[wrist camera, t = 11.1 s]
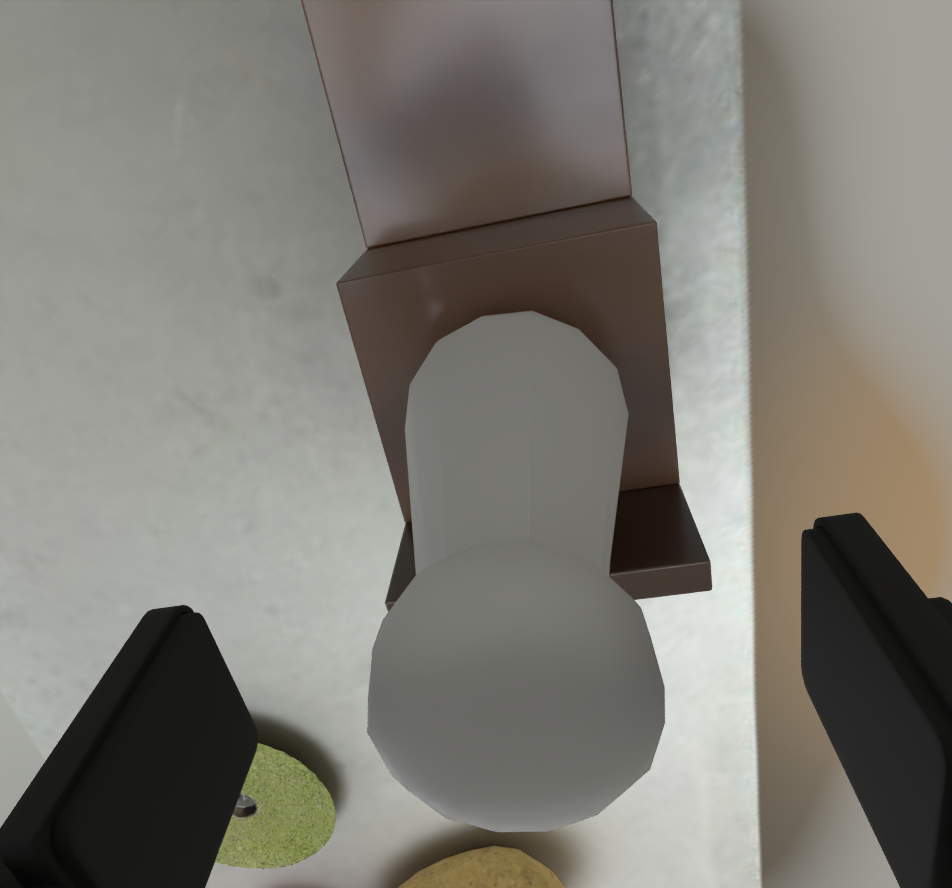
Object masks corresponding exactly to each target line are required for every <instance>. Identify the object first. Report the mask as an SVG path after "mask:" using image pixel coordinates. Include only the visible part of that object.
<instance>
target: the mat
mask: <svg viewBox="0 0 952 888" xmlns="http://www.w3.org/2000/svg"><path fill="white" fill-rule="evenodd" d="M325 788H326V787H325V786H324V785H323V783H322V782H321V781H319V779H318V778H317V776H316V775H315V774H314V773H313V772H311V771H310V770H308V769H307V767H306V766H305V765H303V764H302V763H301V762H300V761H299V760H296V759H295V758H293V757H291V756H289V755H287V754H286V753H285V752H283V751H279V750H275V749H273V748H272V747H269V746H266V745H263V744H260V743H258V745H257V750H256V753H255V756H254V759H253V761H252V764H251V767H250V769H249V772H248V775H247V777H246V780H245V783H244V785H243V788H242V791H241V793H240V796H239V799H238V801H237V804H236V807H235V809H234V812H233V815H232V817H231V820H230V823H229V825H228V828H227V831H226V833H225V836H224V839H223V841H222V844H221V847H220V849H219V852H218V855H217V857H216V860H215V862H217V863H221V864H226V865H229V866H238V867H246V868H255V867H256V868H259V867H260V868H262V869H263V868H275V867H285V866H287V865H292V864H293V863H298V862H299V861H301V860H303V858H304V859H306V858H307V857H309V856H311V855H313V854H315V853H316V852H317V851H319V850H320V849H321V847H322V846H323V845H324V846H325V844H326V842H327V841H328V840H329V838H331V835H332V833H333V830H334V827H335V819H336V818H335V817H336V813H335V807H334V804H333V801H332V798H331V796H330V795H331V794H330V793H329V792H328V790H327V789H325Z"/></svg>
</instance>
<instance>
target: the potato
mask: <svg viewBox="0 0 952 888" xmlns="http://www.w3.org/2000/svg"><path fill="white" fill-rule="evenodd" d="M398 888H565V887H564V885H563V884H562V883H561V881H560V880H559V879H558V877H557V876H556V875H555V873H553V872H552V871H551V870H549V869H548V868H547V867H546V866H544V865H543V864H542V863H540V862H539V861H537V860H535V859H534V858H532V857H530V856H529V855H527V854H526V853H524V852H522V851H521V850H519V849H515V848H507V847H500V846H491V847H485V848H480V849H474V850H469V851H466V852H463V853H460V854H457V855H454V856H451V857H448V858H445V859H443V860H441V861H439V862H437V863H435V864H433V865H430V866H428V867H426V868H424V869H422V870H420V871H419V872H417V873H416V874H415V875H414V876H412V877H411V878H410V879H408V880H407V881H406V882H405V883H403V884H402V885H401V886H400V887H398Z"/></svg>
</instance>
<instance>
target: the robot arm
mask: <svg viewBox="0 0 952 888" xmlns="http://www.w3.org/2000/svg"><path fill="white" fill-rule="evenodd" d="M801 541H802V543H801V546H802V547H801V553H802V555H801V565H802V566H801V570H802V571H801V590H802V591H801V667H802V676H803V679H804V683H805V687H806V689H807V691H808V694H809V696H810V698H811V700H812V703H813V705H814V707H815V709H816V711H817V713H818V715H819V717H820V720H821V722H822V724H823V726H824V728H825V730H826V732H827V734H828V736H829V738H830V740H831V743H832V745H833V747H834V749H835V751H836V753H837V755H838V757H839V760H840V762H841V764H842V766H843V768H844V770H845V772H846V774H847V776H848V778H849V781H850V783H851V785H852V787H853V789H854V791H855V793H856V795H857V797H858V799H859V802H860V804H861V806H862V808H863V810H864V812H865V814H866V816H867V818H868V821H869V823H870V825H871V827H872V829H873V831H874V833H875V835H876V837H877V839H878V842H879V844H880V846H881V848H882V850H883V852H884V854H885V856H886V858H887V861H888V863H889V865H890V867H891V869H892V871H893V873H894V875H895V877H896V880H897V882H898V884H899V886H900V888H952V603H951V602H950V601H949V600H947V599H944V598H942V597H938V598H929V599H928V598H927V597H926V595H925V594H924V593H923V591H922V590H921V589H920V588H919V586H918V585H917V584H916V583H915V581H914V580H913V579H912V577H911V576H910V575H909V574H908V572H906V570H905V569H904V567H903V566H902V565H901V564H900V562H899V561H898V560H897V559H896V557H895V556H894V555H893V554H892V552H891V551H890V550H889V548H888V547H887V546H886V544H885V543H884V542H883V541H882V539H881V538H880V537H879V536H878V534H877V533H876V532H875V530H874V529H873V528H872V527H871V526H870V524H869V523H868V522H867V520H866V519H865V518H864V517H863V516H862V515H861V514H860V513H850V514H843V515H836V516H829V517H822V518H817V519H816V520H815V522H814V528H813V529H808V530H804V531H803V533H802V540H801ZM257 745H258V734H257V729H256V726H255V724H254V722H253V720H252V718H251V715H250V713H249V711H248V709H247V707H246V705H245V703H244V701H243V699H242V697H241V695H240V692H239V690H238V688H237V686H236V684H235V682H234V680H233V678H232V676H231V674H230V672H229V669H228V667H227V665H226V663H225V661H224V659H223V657H222V655H221V653H220V651H219V648H218V646H217V644H216V642H215V640H214V638H213V636H212V634H211V632H210V630H209V628H208V625H207V623H206V621H205V619H204V618H203V616H202V615H201V614H200V613H194V612H193V610H192V609H191V608H190V607H188V606H185V605H181V606H173V607H166V608H159V609H152V610H150V611H148V612H147V613H146V614H145V615H144V616H143V618H142V619H141V621H140V622H139V624H138V625H137V627H136V628H135V630H134V631H133V633H132V634H131V636H130V637H129V638H128V640H127V641H126V643H125V644H124V646H123V647H122V649H121V650H120V652H119V653H118V655H117V656H116V658H115V659H114V661H113V662H112V664H111V665H110V667H109V668H108V670H107V671H106V673H105V674H104V675H103V677H102V678H101V680H100V681H99V683H98V684H97V686H96V687H95V689H94V690H93V692H92V693H91V695H90V696H89V698H88V699H87V701H86V702H85V704H84V705H83V707H82V708H81V710H80V711H79V713H78V714H77V715H76V717H75V718H74V720H73V721H72V723H71V724H70V726H69V727H68V729H67V730H66V732H65V733H64V735H63V736H62V738H61V739H60V741H59V742H58V744H57V745H56V747H55V748H54V750H53V751H52V753H51V754H50V755H49V757H48V758H47V760H46V761H45V763H44V764H43V766H42V767H41V769H40V770H39V772H38V773H37V775H36V776H35V778H34V779H33V781H32V782H31V784H30V785H29V787H28V788H27V790H26V791H25V793H24V794H23V795H22V797H21V799H20V800H19V801H18V803H17V805H16V806H15V807H14V809H13V810H12V812H11V813H10V815H9V816H8V818H7V819H6V821H5V822H4V824H3V825H2V827H1V828H0V888H205V886H206V884H207V881H208V878H209V876H210V873H211V871H212V868H213V865H214V863H215V860H216V857H217V855H218V852H219V849H220V847H221V844H222V841H223V839H224V836H225V833H226V831H227V828H228V825H229V823H230V820H231V817H232V815H233V812H234V809H235V807H236V804H237V801H238V799H239V796H240V793H241V791H242V788H243V785H244V783H245V780H246V777H247V775H248V772H249V769H250V767H251V764H252V761H253V759H254V756H255V753H256V750H257Z"/></svg>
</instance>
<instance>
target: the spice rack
mask: <svg viewBox="0 0 952 888" xmlns="http://www.w3.org/2000/svg"><path fill="white" fill-rule="evenodd" d="M301 2H302V6H303V10H304V13H305V17H306V21H307V25H308V29H309V32H310V36H311V40H312V44H313V47H314V51H315V55H316V59H317V63H318V66H319V70H320V74H321V78H322V82H323V85H324V89H325V93H326V97H327V100H328V104H329V108H330V112H331V116H332V119H333V123H334V127H335V131H336V135H337V138H338V142H339V146H340V150H341V154H342V157H343V161H344V165H345V169H346V172H347V176H348V180H349V184H350V188H351V191H352V195H353V199H354V203H355V207H356V210H357V214H358V218H359V222H360V225H361V229H362V233H363V237H364V241H365V244H366V247H367V248H368V249H367V250H366V251H365V252H364V253H363V255H362V256H361V257H360V258H359V259H358V260H357V261H356V262H355V263H354V264H353V265H352V267H351V268H350V269H349V270H348V271H347V272H346V273H345V274H344V275H343V276H342V278H341V279H340V280H339V281H338V282H337V283H336V285H337V288H338V292H339V295H340V299H341V302H342V306H343V309H344V313H345V316H346V320H347V323H348V326H349V330H350V333H351V337H352V340H353V344H354V347H355V351H356V354H357V358H358V361H359V365H360V368H361V372H362V375H363V379H364V382H365V385H366V389H367V392H368V396H369V399H370V403H371V406H372V410H373V413H374V417H375V420H376V424H377V427H378V431H379V434H380V437H381V441H382V444H383V448H384V451H385V455H386V458H387V462H388V465H389V469H390V472H391V476H392V479H393V483H394V486H395V490H396V493H397V496H398V500H399V503H400V507H401V510H402V514H403V517H404V521H405V522H406V524H405V528H404V532H403V535H402V539H401V543H400V547H399V551H398V555H397V559H396V563H395V566H394V570H393V574H392V578H391V582H390V586H389V590H388V593H387V597H386V601H385V604H386V607H387V610H388V612H389V611H390V610H391V608H392V607H393V605H394V604H395V603H396V601H397V600H398V599H399V597H400V596H401V595H402V593H403V592H404V591H405V589H406V588H407V587H408V585H409V584H410V583H411V581H412V580H413V578H414V577H415V576H416V569H415V556H414V543H413V530H412V517H411V504H410V491H409V477H408V464H407V451H406V438H405V423H406V414H407V405H408V396H409V386H410V383H411V382H412V380H413V379H414V377H415V375H416V374H417V372H418V370H419V369H420V367H421V366H422V364H423V362H424V361H425V359H426V358H427V356H428V354H429V353H430V351H431V350H432V348H433V346H434V345H435V343H436V342H438V341H439V340H440V339H441V338H443V337H445V336H447V335H449V334H451V333H452V332H454V331H456V330H458V329H460V328H462V327H463V326H465V325H467V324H469V323H471V322H472V321H474V320H476V319H478V318H480V317H482V316H488V315H497V314H506V313H516V312H525V311H534V312H537V313H539V314H542V315H544V316H547V317H549V318H552V319H555V320H557V321H560V322H562V323H565V324H567V325H570V326H572V327H575V328H577V329H579V330H580V331H581V332H582V333H583V334H584V335H585V336H586V337H587V338H588V339H589V340H590V341H591V342H592V343H593V344H594V345H595V346H596V347H597V348H598V349H599V350H600V351H601V352H602V353H603V354H604V355H605V356H606V358H607V359H608V360H609V361H610V362H611V363H612V364H613V365H614V366H615V367H616V368H617V370H618V374H619V378H620V382H621V386H622V390H623V394H624V398H625V402H626V406H627V410H628V414H629V415H628V422H627V430H626V438H625V446H624V454H623V462H622V470H621V478H620V486H619V494H618V502H617V510H616V518H615V526H614V534H613V542H612V550H611V558H610V570H609V577H610V578H611V579H612V580H613V581H614V582H615V583H616V584H618V585H619V586H620V587H621V588H622V589H623V590H624V591H625V592H626V593H627V594H629V595H630V596H631V597H632V598H633V600H637V599H645V598H654V597H662V596H670V595H678V594H686V593H694V592H702V591H710V590H712V579H711V565H710V559H709V557H708V554H707V552H706V549H705V547H704V544H703V542H702V539H701V537H700V534H699V532H698V529H697V527H696V524H695V522H694V519H693V517H692V514H691V512H690V509H689V507H688V504H687V502H686V499H685V497H684V494H683V492H682V489H681V487H680V484H679V482H680V481H679V469H678V458H677V447H676V436H675V424H674V413H673V402H672V391H671V379H670V368H669V357H668V346H667V334H666V323H665V312H664V301H663V289H662V278H661V267H660V256H659V244H658V233H657V223H656V221H655V220H654V219H653V218H652V217H651V216H650V215H649V214H648V213H647V212H646V211H645V210H644V209H643V208H642V207H641V206H640V205H639V204H638V203H637V202H636V201H635V200H634V199H633V198H632V196H631V195H632V189H631V179H630V169H629V159H628V149H627V140H626V130H625V120H624V110H623V100H622V90H621V81H620V71H619V61H618V51H617V41H616V31H615V22H614V12H613V2H612V0H301Z"/></svg>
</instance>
